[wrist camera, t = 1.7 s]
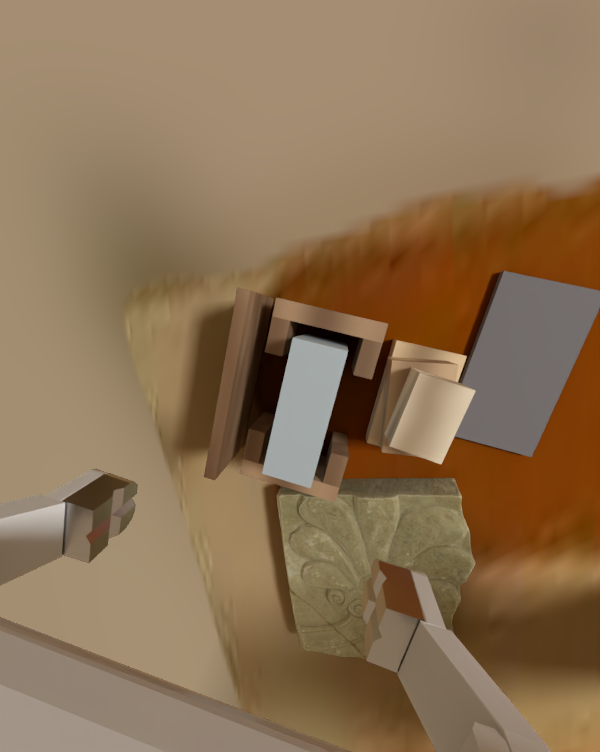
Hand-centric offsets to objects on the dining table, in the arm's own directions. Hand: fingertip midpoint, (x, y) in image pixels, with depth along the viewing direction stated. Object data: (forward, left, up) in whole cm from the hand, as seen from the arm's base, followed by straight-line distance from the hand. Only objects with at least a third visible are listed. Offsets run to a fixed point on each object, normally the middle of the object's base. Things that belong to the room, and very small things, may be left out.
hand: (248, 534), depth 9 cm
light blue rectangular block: (0, 0, -20) cm, 20 cm away
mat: (-17, -7, -20) cm, 27 cm away
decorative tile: (-11, +17, -21) cm, 29 cm away
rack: (+1, 0, -20) cm, 20 cm away
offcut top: (-9, -2, -16) cm, 18 cm away
